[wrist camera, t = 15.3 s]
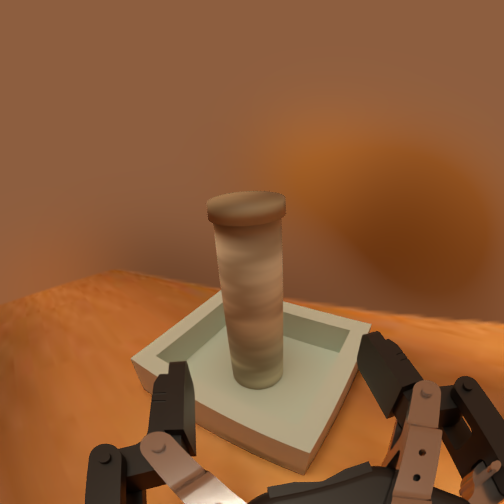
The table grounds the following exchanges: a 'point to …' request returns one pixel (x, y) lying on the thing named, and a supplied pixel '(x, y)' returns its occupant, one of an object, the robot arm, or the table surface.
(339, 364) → the tray
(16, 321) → the table surface
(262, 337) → the stop peg
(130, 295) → the table surface
